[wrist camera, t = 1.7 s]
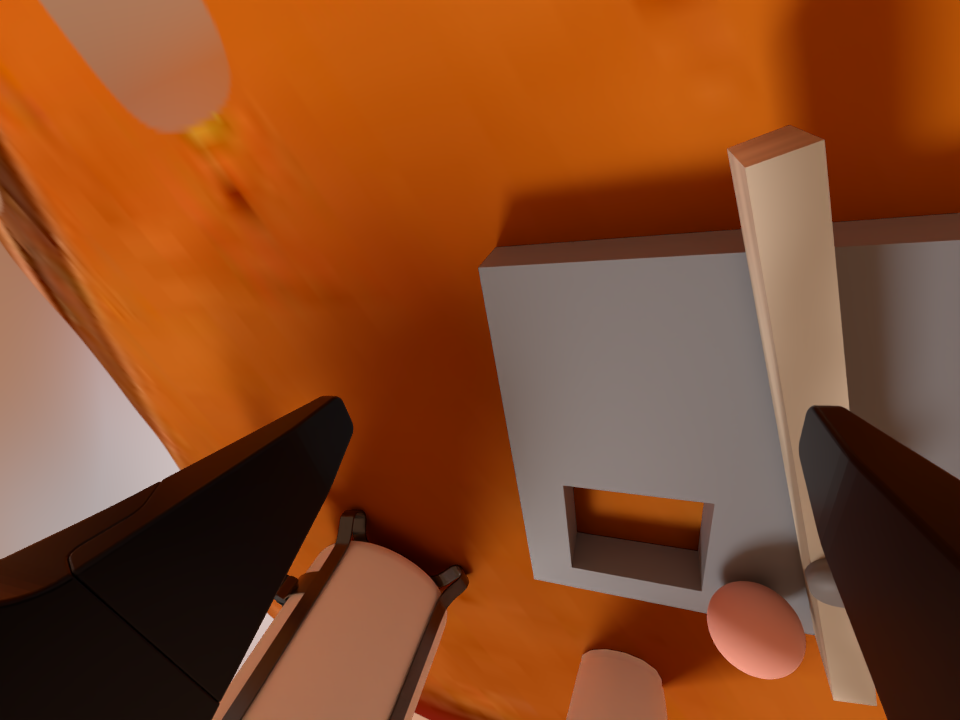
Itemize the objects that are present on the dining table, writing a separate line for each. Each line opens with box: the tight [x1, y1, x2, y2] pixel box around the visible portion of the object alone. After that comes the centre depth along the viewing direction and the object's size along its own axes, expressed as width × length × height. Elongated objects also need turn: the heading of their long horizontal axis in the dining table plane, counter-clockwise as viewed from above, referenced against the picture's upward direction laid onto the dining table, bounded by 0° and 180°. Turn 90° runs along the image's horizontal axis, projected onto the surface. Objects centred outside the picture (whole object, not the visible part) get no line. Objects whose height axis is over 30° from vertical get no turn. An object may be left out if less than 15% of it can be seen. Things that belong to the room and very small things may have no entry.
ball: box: [707, 581, 806, 679], centre depth 21 cm, size 4×4×4 cm
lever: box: [727, 125, 877, 706], centre depth 15 cm, size 2×24×4 cm, turn 25°
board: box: [478, 213, 960, 635], centre depth 21 cm, size 18×21×2 cm
